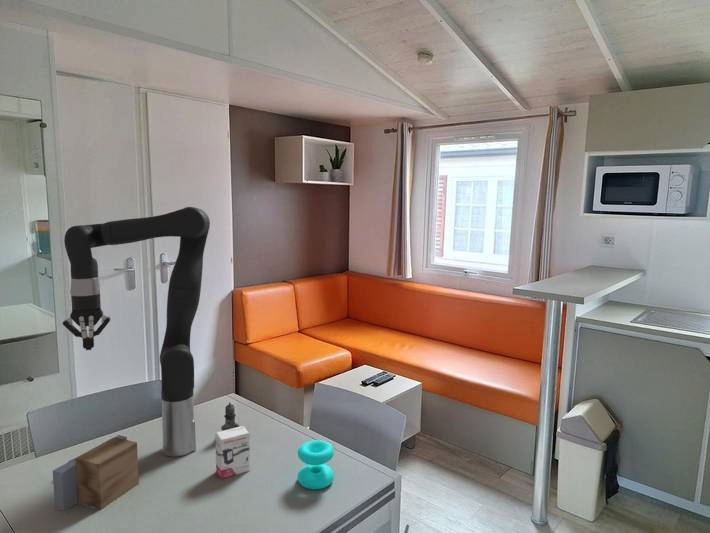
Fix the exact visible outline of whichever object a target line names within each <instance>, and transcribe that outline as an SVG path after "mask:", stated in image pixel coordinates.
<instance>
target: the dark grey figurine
mask: <svg viewBox="0 0 710 533" xmlns="http://www.w3.org/2000/svg"><path fill="white" fill-rule="evenodd" d="M236 416H237V415H236V413H235V405H234V404H232V403H231V402H229V403H228V404H227V405H226V406H225V414H224V418H225V421H224V422H225V423H224V424H223V425H221V427H220V429H221V431H224V430H228V429H232V428H236V427H240V424H239V423H236Z"/></svg>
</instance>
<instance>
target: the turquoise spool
mask: <svg viewBox="0 0 710 533" xmlns="http://www.w3.org/2000/svg"><path fill="white" fill-rule="evenodd" d="M334 455H335V450H334V447H333V445H332V444H330V443H329V442H328V441H325V440H320V439H314V440H308V441H305V442H304V443H303V442H302V444H301V445H300V446H299V448H298V449H297V457H298V459H299V460H300V461H301V462H302V463H304V464H306V465H304V466H303V467H301V468H300V470H299V471H298V473H297V481H298V483H299V484H300V485H301V486H302V487H304V488H306V489H309V490H321V489H325V488H326V487H328V486H330V485H331V484H332V482H333V481H334V477H335V474H334V471H333V469H332V468H331V466H329V465H327V463H329V462H330V461H331V460H332V458H334Z"/></svg>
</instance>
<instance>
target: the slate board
mask: <svg viewBox="0 0 710 533" xmlns="http://www.w3.org/2000/svg"><path fill="white" fill-rule="evenodd" d="M115 437H116V438H121V439H125V440H128V437H127V436H125V435H120V434H117V435H116V436H115ZM68 461H69V462H68ZM68 461H67V462H66V463H64V464H62V465H61V466H58V467H57V468H55V469H53V470H52V479H53V480H52V481H53V495H54V496H53V497H54V500H53V501H54V509H56V510H58V511H62V512H66V511H67V510H68V509H70V508H71V507H72V506H74V505H76V504H79V503H78V501H77V484H76V467H75V459H74V458H73V460H72V459H71V461H70V460H68Z"/></svg>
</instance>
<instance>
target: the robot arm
mask: <svg viewBox="0 0 710 533" xmlns="http://www.w3.org/2000/svg"><path fill="white" fill-rule="evenodd" d="M210 224H211V222H210V218H209V215H208V214H207V213H206V211H204V210H203V209H201V208H199V207H193V206H185V207H183V208H181V209H177V210H175V211H172V212H167V213H165V214H160V215H159V214H158V215H156V216H147V217H140V218H139V217H138V218H137V217H136V218H128V219H127V218H126V219H120V220H113V221H106V222H104V223H94V224H93V223H92V224H82V225H73V226H70V227H69V228H67V230H66V231H65V235H64V241H63V242H64V248H65V250H66V251H65V252H66V255H67V257H68V261H69V264H70V299H71V302H70V303H71V313H70V314H69V315H70V316H69V317H67V319H64V320H63V321H62V325H63V326H64V327H65V328H66V329H67V330H68V331H69V332H70V333H71V334H72V335H73V336H74V337H76V338H81V339H82V348H83V349H84V350H85V351H91V350H92V349H93V348H94V347H95V337H96V336H99V335H100V334H101V333H102V332H103V330H105V328H106V326H107V325H108V324H109V323H110V321H111V317H110V316H107V315H105V314H104V311H103V310H102V308H101V307H102V306H101V287H100V286H101V285H100V284H101V283H100V278H99V264H98V260H97V259H96V258H94V257H93V253H92V249H95V248H98V247H104V246H117V245H125V244H131V243H138V242H142V241H146V240H151V239H157V238H164V237H165V238H166V237H168V238H169V237H179V238H180V239H179V249H178V254H177V256H176V257H177V258H176V260H175V263H174V265H173V267H172V271H171V274H170V279H169V281H168V282H169V283H168V289H167V290H168V291H167V300H166V301H167V303H166V326H165V333H164V338H163V341H162V346H161V350H160V352H159V353H160V354H159V364H160V371H161V373H160V374H161V376H160V378H161V390H160V391H161V392H160V393H161V422H162V424H161V426H162V450H163V451H162V452H163V454H164V455H165V456H168V457H172V458H173V457H182V456H186V455H188V454H190V453H192V452H195V451H197V443H196V442H197V441H196V421H195V404H194V403H195V402H194V401H195V400H194V397H195V394H194V389H195V360H194V356H193V354H192V352H191V333H192V325H193V322H194V319H195V317H196V314H197V311H198V307H199V304H200V297H201V290H202V279H203V266H204V264H203V263H204V262H203V261H204V252H205V248H206V243H207V238H208V236H209V235H208V234H209V231H210ZM100 319H101V320H100ZM99 321H101V324H100V325H99V326H98V328H97V329H95V326H96V325H97V324H98V322H99ZM74 323H75V324H76V325H77V326H78V327H79V328H80V330H79V329H77V328H76V326H74ZM87 327H88V328H87ZM87 330H88V331H87Z"/></svg>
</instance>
